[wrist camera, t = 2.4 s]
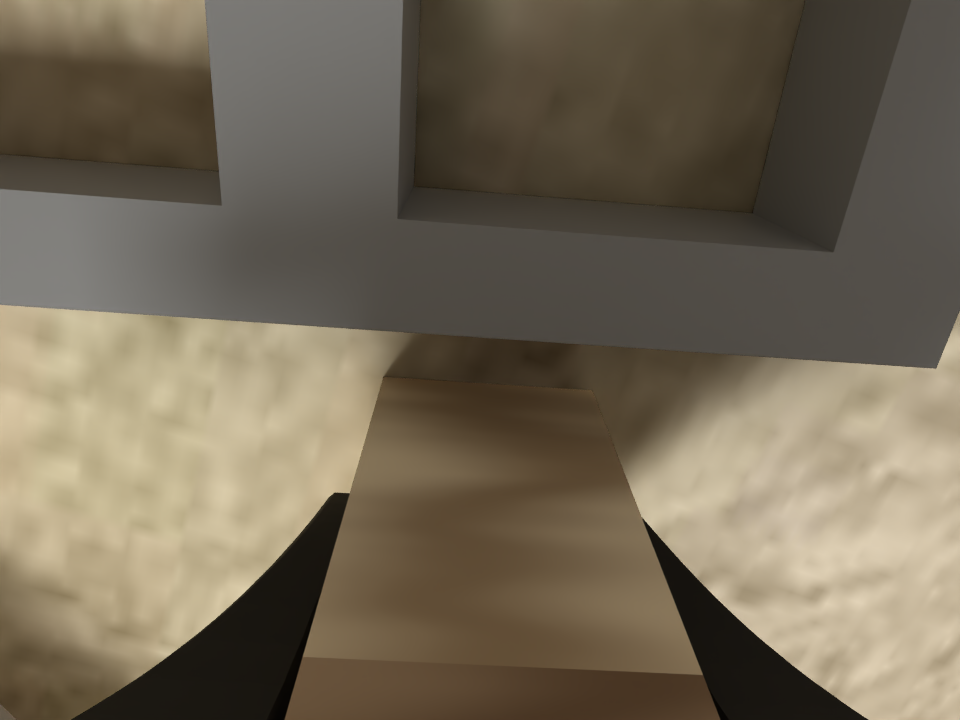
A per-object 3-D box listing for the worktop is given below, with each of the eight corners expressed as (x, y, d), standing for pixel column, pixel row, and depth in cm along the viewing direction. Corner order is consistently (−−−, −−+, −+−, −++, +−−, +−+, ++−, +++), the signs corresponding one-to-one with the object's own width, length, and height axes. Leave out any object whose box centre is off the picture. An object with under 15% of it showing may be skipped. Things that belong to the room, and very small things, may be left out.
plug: (592, 390, 14) (729, 742, 7) (564, 554, 16) (647, 973, 8) (383, 376, 14) (283, 724, 6) (380, 544, 15) (300, 964, 8)
